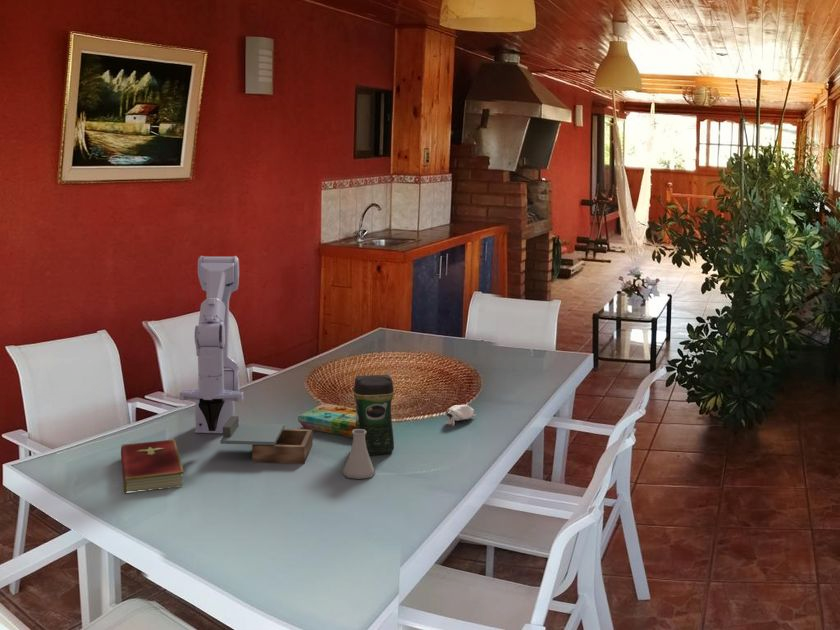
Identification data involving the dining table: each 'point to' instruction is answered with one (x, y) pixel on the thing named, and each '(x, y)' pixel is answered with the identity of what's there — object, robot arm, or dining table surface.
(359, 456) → the flask
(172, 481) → the hardcover book
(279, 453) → the box
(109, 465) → the dining table surface
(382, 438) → the coffee jar
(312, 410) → the puzzle game
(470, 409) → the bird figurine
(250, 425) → the lid
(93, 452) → the dining table surface
